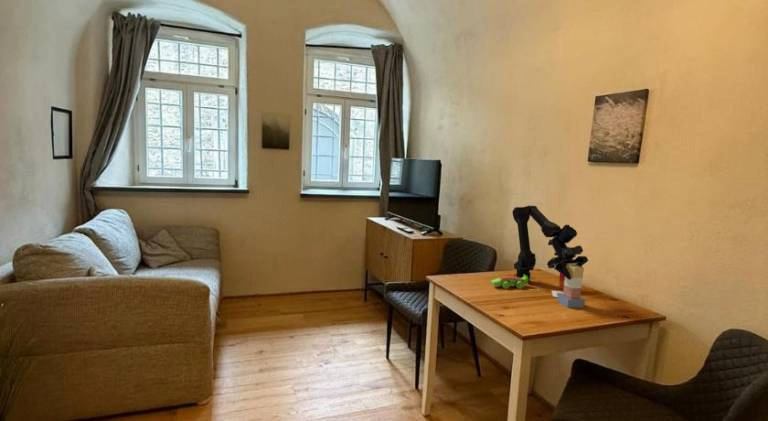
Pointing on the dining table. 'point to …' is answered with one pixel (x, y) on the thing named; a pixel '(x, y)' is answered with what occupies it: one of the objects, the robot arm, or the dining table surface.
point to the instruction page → (556, 293)
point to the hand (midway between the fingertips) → (575, 278)
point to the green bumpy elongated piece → (511, 281)
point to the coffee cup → (562, 279)
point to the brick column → (573, 282)
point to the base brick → (571, 301)
